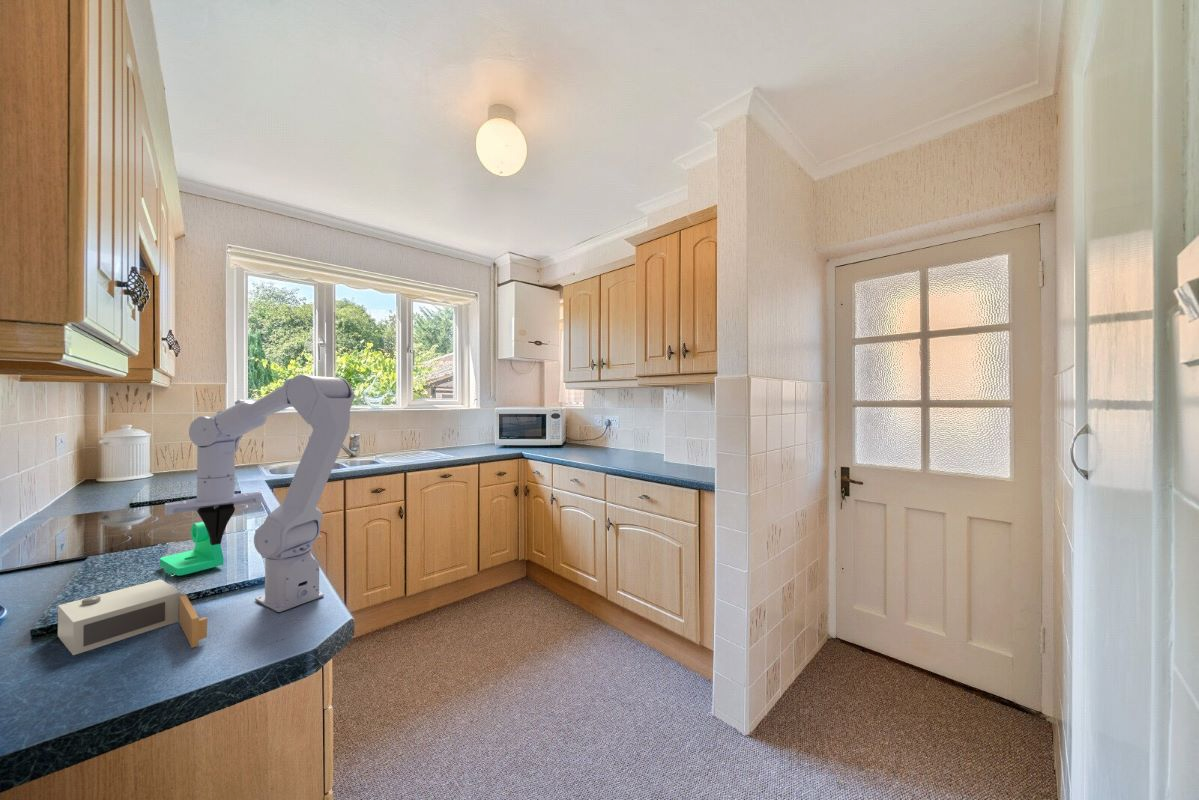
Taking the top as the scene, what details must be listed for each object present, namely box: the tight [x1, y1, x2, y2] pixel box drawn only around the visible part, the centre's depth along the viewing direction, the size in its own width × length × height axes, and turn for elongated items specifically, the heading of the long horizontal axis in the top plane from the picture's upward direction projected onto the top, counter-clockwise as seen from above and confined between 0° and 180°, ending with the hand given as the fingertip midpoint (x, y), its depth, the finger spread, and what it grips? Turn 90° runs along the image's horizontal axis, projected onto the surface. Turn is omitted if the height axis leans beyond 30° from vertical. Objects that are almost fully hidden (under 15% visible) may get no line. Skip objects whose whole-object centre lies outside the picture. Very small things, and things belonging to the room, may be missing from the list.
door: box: [178, 593, 208, 648], centre depth 71 cm, size 13×2×4 cm, turn 51°
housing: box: [57, 579, 182, 656], centre depth 73 cm, size 11×12×6 cm
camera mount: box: [159, 521, 224, 576], centre depth 98 cm, size 12×8×10 cm, turn 60°
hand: (215, 543), depth 87 cm, fingers closed
